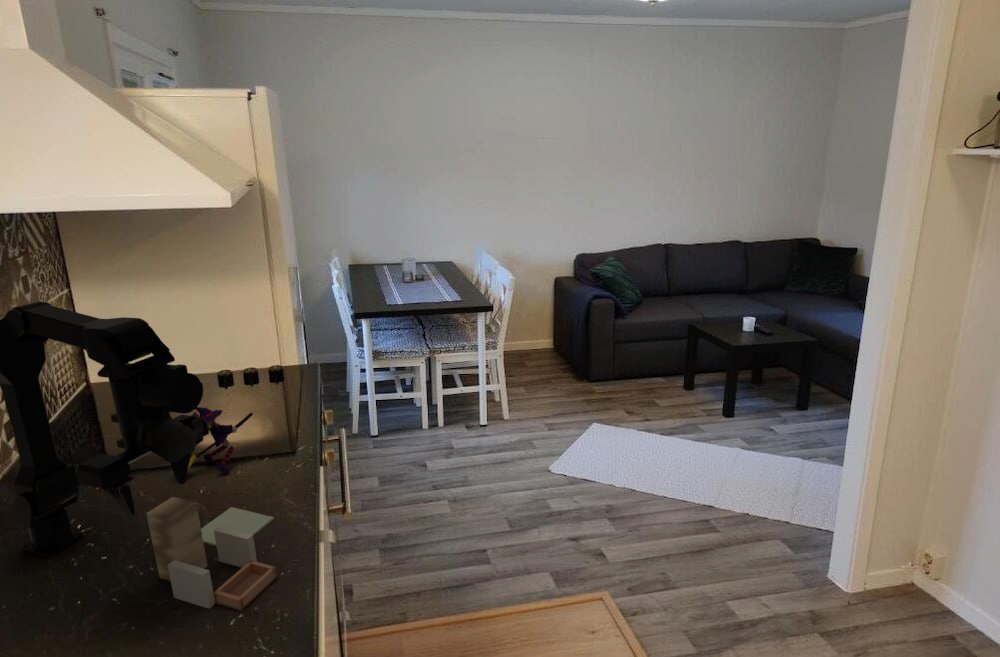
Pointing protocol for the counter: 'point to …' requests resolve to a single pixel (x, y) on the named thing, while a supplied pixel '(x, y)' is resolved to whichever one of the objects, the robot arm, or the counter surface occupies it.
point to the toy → (217, 437)
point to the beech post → (176, 535)
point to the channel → (197, 581)
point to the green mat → (235, 523)
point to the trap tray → (245, 585)
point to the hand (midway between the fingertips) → (157, 498)
